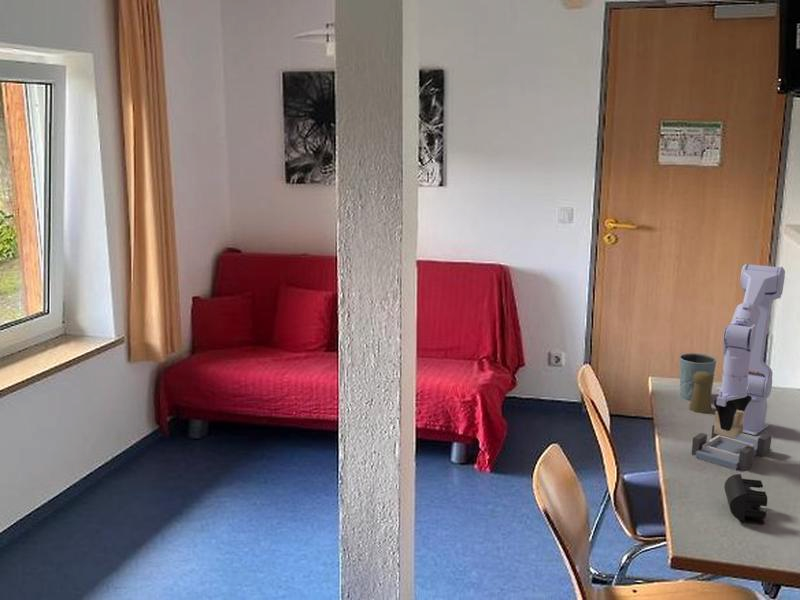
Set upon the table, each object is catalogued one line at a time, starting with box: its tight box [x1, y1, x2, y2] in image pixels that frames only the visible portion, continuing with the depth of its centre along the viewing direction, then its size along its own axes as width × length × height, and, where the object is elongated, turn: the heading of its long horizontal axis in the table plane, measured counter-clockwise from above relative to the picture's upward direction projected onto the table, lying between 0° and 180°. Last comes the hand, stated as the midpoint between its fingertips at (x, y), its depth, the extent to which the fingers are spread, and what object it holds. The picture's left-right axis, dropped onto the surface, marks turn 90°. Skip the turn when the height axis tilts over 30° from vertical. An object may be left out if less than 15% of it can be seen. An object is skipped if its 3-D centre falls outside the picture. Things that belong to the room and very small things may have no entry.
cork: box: [688, 371, 714, 414], centre depth 236 cm, size 6×6×11 cm
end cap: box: [724, 473, 768, 526], centre depth 176 cm, size 10×7×7 cm
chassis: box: [691, 424, 772, 471], centre depth 207 cm, size 18×13×4 cm
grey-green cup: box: [679, 352, 717, 402], centre depth 246 cm, size 10×10×12 cm
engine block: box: [713, 410, 744, 438], centre depth 204 cm, size 5×5×6 cm
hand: (730, 426), depth 204 cm, fingers closed on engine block, 5 cm apart
